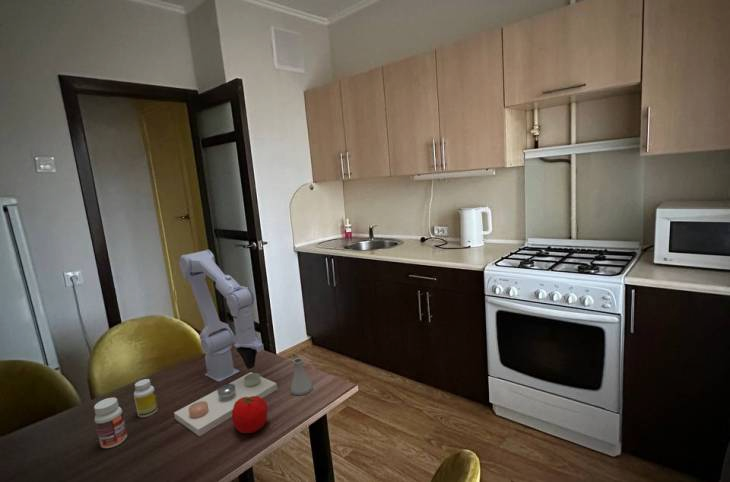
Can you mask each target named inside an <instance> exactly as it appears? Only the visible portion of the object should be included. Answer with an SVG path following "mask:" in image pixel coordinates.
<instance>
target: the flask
mask: <svg viewBox="0 0 730 482" xmlns="http://www.w3.org/2000/svg"><path fill="white" fill-rule="evenodd" d="M303 363H304V358H303V357H296V358H294V359H293V360H292V364H293V365H294V366H293V367H294V369H293V376H292V381H291V384H290V385H291V386H290V395H294V396H302V395H307V394H309V393H310V392H311V391H312V390H313V383H312V381H311V379H310V378H309V376H308V374H307V372H306V370H305V368H304V364H303Z"/></svg>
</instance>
